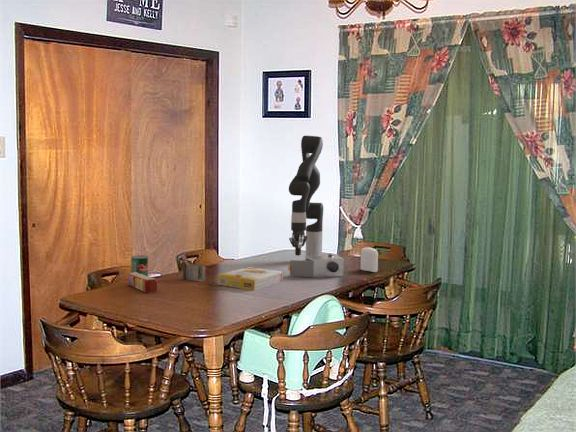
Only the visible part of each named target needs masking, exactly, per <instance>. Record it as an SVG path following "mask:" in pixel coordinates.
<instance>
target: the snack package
mask: <svg viewBox="0 0 576 432" xmlns="http://www.w3.org/2000/svg"><path fill="white" fill-rule="evenodd" d="M126 279H127V281H126V282H127V285H128V286H130V287H133V288H135V289H137V290H139V291H141V292H143V293H145V294H153V293H156V292H157V291H158V288H159V287H158V285H159V284H158V280H157V279H156V278H155V277H154V278H153V277H151V276H149V275H148V276H146V275H143V274H139V273H137V272H133V273H131V272H130V273H128V274H127V277H126Z"/></svg>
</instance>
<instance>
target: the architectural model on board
mask: <svg viewBox="0 0 576 432" xmlns="http://www.w3.org/2000/svg"><path fill="white" fill-rule="evenodd" d="M182 262H183V264H182V280H185V279H186V280H189V281H197V282H205V281H206V265H201V264H193V263H189V262H188V260H182Z"/></svg>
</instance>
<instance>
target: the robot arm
mask: <svg viewBox="0 0 576 432" xmlns="http://www.w3.org/2000/svg"><path fill="white" fill-rule="evenodd" d="M323 145H324V141H323V138H322V137H321V136H317V135H303V136H302V137H301V141H300V148H301V149H300V151H301V157H302V162H301V163H300V165H299V166H298V169H297V173H296V174H295V176H294V177H293V179H292V180H291V182H289V186H288V192H289V194H290V195H292V196H297V197H298V196H299V197H300V199H297V200H296V199H295V200H293V201H292V203H291V218H290V222H291V224H290V229H291V231H292V233H291V235H292V236H291V237H288V238H289V239H288V240H289V242H290V244H291V246H292V248H294V251H295V252H294V253H295V256H301V255H302V247H304V246H305V254H304V255H305V260H304V261H306V256H311V255H323V221H324V203H322V202H311V200H312V197H313V195H314V194H315V193H316V192H317V191H318V189H319V188H320V185H321V174H320V173H321V172H320V170H319V169H318V167H317V166H316V163H317V161H318V160H319V157H320V155H321V153H322V150H323ZM310 154H311V155H310ZM307 220H316V221H315V222H313V223H311V224H308V225H307Z"/></svg>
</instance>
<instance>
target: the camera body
mask: <svg viewBox="0 0 576 432" xmlns="http://www.w3.org/2000/svg"><path fill="white" fill-rule="evenodd" d="M344 260H345V258H344V257H341V256H339V255H337V254H334V253H328V254H322V255H311V256H306V261H313V277H312V278H329V277H330V278H331V277H344V267H345V266H344V262H345V261H344Z"/></svg>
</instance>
